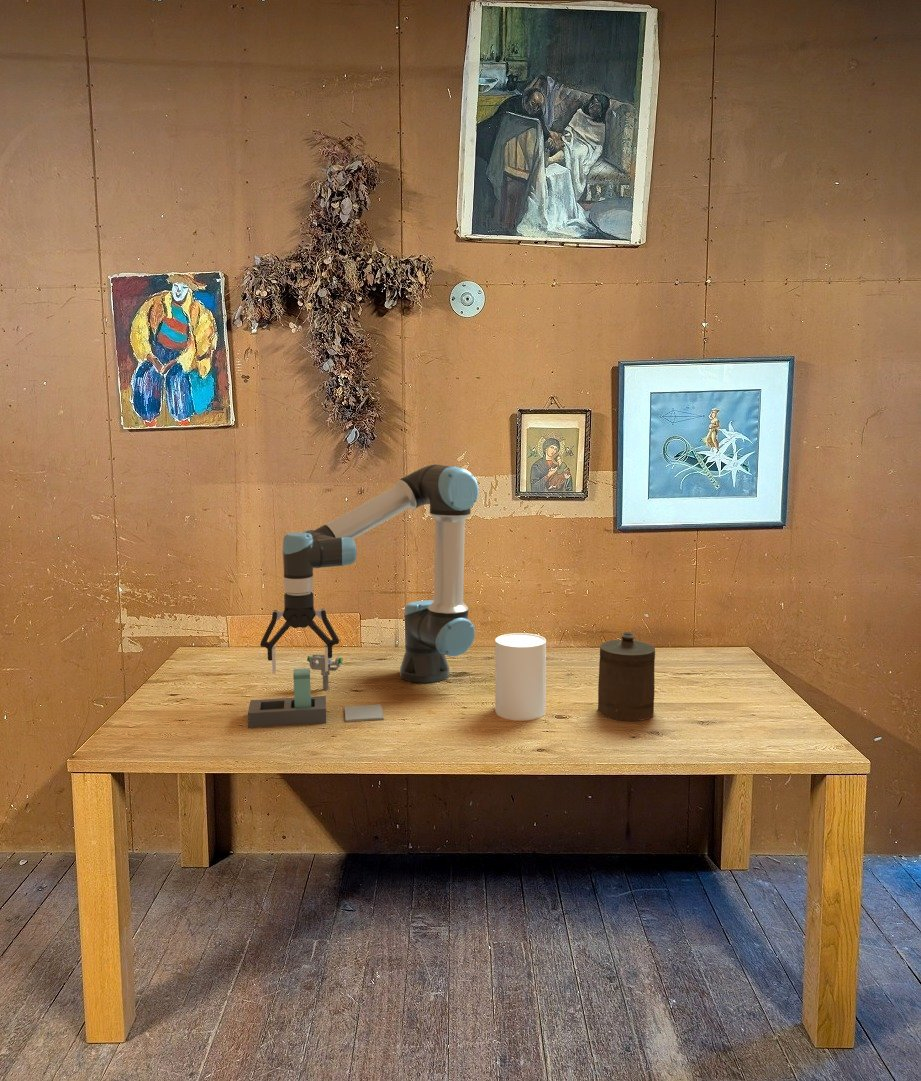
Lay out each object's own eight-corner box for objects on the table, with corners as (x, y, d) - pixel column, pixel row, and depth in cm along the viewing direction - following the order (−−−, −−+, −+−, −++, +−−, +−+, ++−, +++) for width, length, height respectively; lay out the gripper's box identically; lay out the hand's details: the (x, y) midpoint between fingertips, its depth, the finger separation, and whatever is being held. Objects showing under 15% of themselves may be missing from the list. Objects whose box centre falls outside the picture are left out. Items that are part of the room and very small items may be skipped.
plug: (311, 714, 238) (309, 668, 235) (311, 720, 233) (309, 673, 231) (295, 715, 237) (293, 668, 235) (295, 721, 233) (293, 673, 231)
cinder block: (326, 709, 241) (325, 695, 240) (326, 723, 231) (325, 708, 231) (251, 714, 238) (250, 700, 237) (248, 728, 228) (247, 713, 228)
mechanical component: (340, 692, 255) (339, 658, 253) (307, 690, 257) (306, 656, 255) (344, 688, 258) (343, 655, 256) (311, 686, 260) (309, 654, 258)
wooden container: (640, 700, 247) (642, 624, 243) (663, 719, 233) (665, 638, 229) (589, 704, 244) (591, 627, 240) (610, 724, 230) (612, 642, 226)
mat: (381, 706, 243) (381, 704, 243) (383, 719, 233) (383, 717, 233) (344, 708, 242) (344, 706, 242) (345, 722, 232) (345, 719, 232)
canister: (555, 711, 239) (556, 639, 236) (522, 724, 230) (522, 650, 226) (518, 699, 248) (518, 630, 245) (485, 711, 239) (484, 640, 236)
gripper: (346, 587, 235) (347, 664, 238) (250, 590, 231) (253, 668, 235) (347, 594, 228) (348, 673, 231) (248, 596, 224) (251, 677, 227)
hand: (300, 671), depth 233 cm, fingers open, 13 cm apart
